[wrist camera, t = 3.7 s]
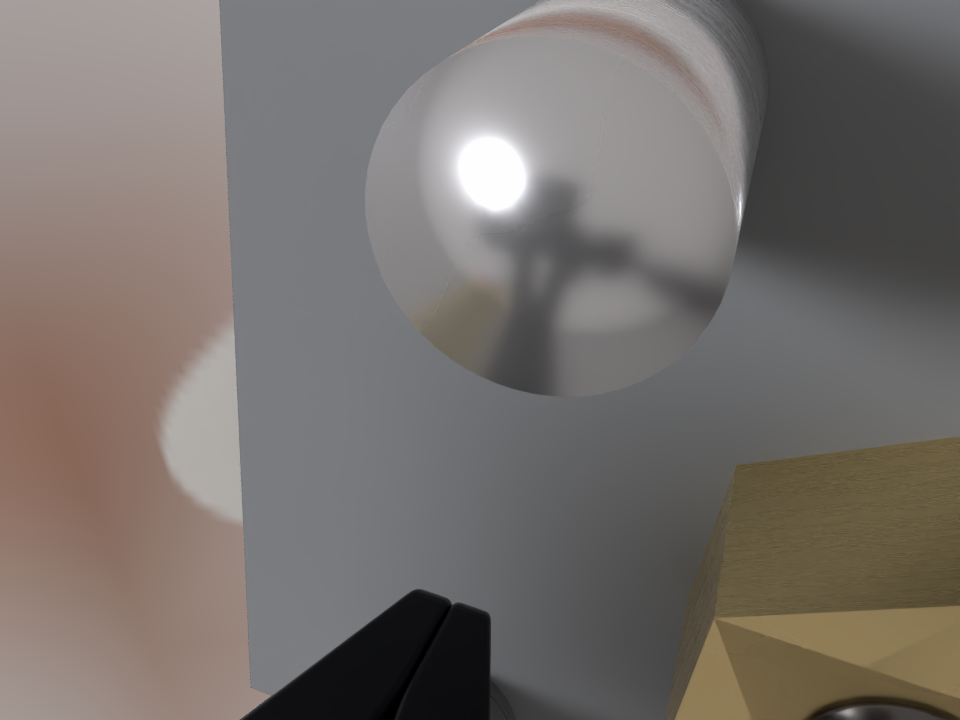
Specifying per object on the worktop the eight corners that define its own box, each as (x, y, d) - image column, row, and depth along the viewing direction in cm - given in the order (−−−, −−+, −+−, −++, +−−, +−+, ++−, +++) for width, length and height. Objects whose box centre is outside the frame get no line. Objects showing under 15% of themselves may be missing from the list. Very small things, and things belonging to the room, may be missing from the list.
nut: (1177, 494, 9) (1282, 696, 7) (977, 766, 11) (1010, 971, 9) (764, 382, 9) (749, 533, 7) (666, 659, 12) (634, 826, 10)
